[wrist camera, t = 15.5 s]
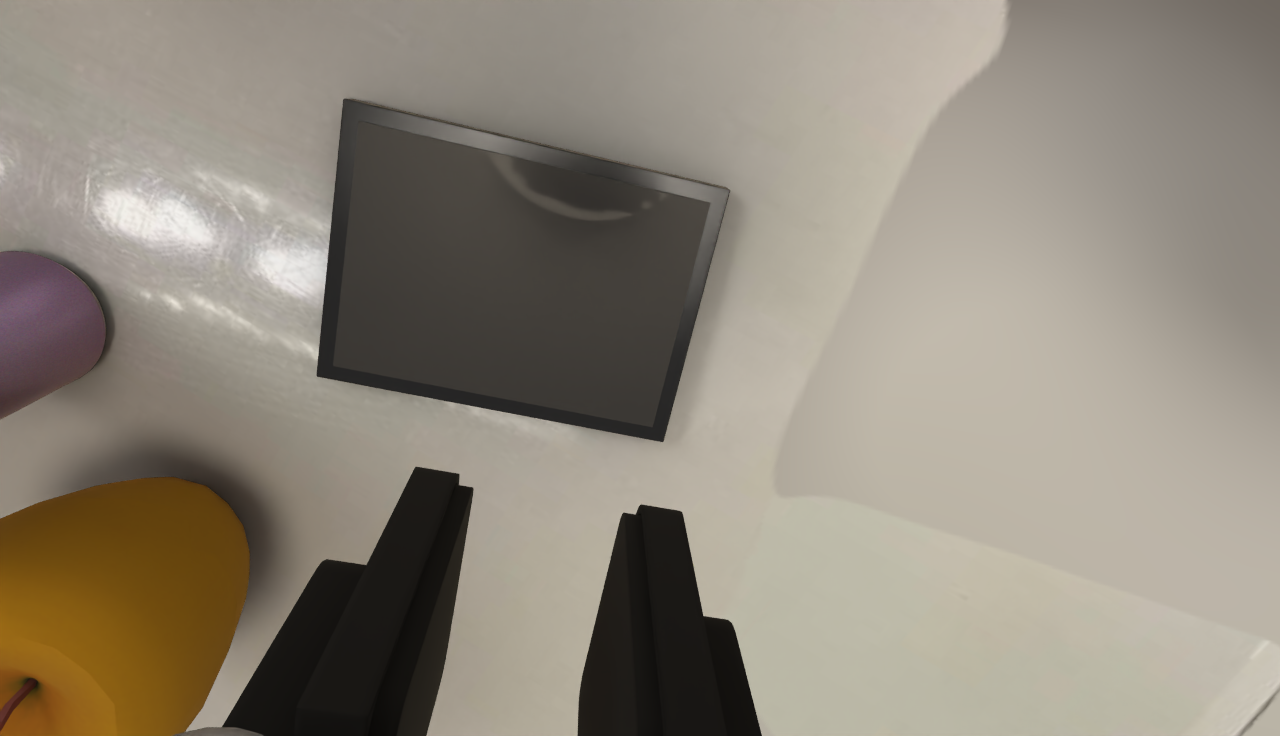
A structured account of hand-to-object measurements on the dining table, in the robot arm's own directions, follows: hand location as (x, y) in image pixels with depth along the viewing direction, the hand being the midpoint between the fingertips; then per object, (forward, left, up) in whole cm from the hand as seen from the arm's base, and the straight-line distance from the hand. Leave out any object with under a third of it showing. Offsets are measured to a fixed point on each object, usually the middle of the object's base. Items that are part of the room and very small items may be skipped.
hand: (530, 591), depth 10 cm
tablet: (+2, -2, -25) cm, 25 cm away
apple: (+18, -16, -25) cm, 35 cm away
